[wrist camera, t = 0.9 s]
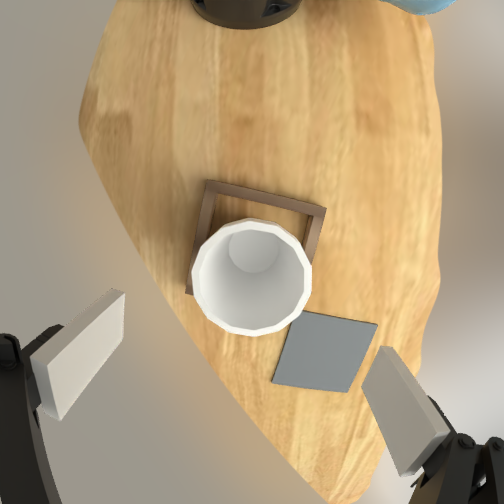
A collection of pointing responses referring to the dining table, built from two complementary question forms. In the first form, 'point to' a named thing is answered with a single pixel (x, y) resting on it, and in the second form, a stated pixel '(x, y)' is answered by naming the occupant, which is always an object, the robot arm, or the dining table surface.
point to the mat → (323, 352)
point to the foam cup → (252, 277)
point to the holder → (258, 196)
